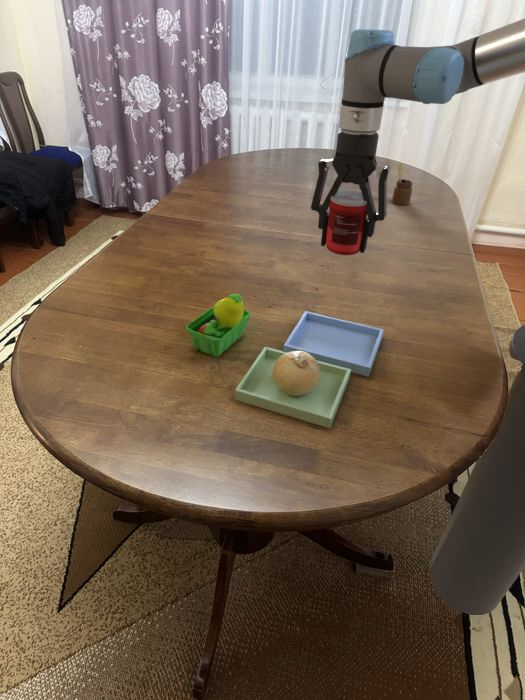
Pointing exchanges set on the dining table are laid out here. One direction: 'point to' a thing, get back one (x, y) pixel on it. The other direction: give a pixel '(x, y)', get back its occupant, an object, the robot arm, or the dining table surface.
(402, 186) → the utensil holder
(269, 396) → the green tray
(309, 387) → the onion
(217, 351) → the fruit basket
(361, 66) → the robot arm
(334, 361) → the blue tray
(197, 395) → the dining table surface
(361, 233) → the canned food
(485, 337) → the dining table surface
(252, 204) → the dining table surface
